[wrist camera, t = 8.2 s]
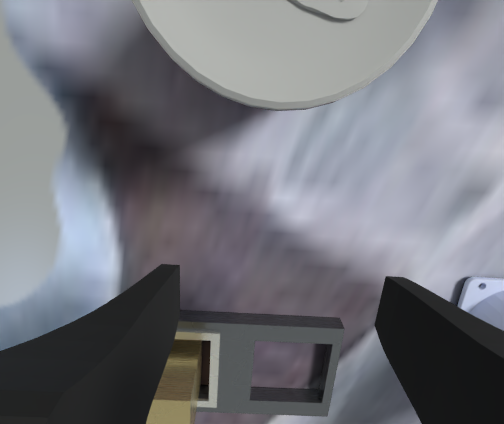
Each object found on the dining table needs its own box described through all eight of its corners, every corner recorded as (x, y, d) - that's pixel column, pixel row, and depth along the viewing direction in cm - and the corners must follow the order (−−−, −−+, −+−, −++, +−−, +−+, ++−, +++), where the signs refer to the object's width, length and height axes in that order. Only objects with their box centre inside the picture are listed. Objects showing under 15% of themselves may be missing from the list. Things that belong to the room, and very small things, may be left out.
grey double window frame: (339, 317, 24) (345, 331, 22) (324, 402, 26) (328, 418, 25) (126, 307, 23) (119, 320, 22) (132, 395, 26) (126, 411, 25)
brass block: (202, 335, 24) (190, 401, 19) (201, 378, 26) (189, 450, 20) (146, 332, 24) (119, 398, 19) (148, 376, 25) (123, 448, 20)
